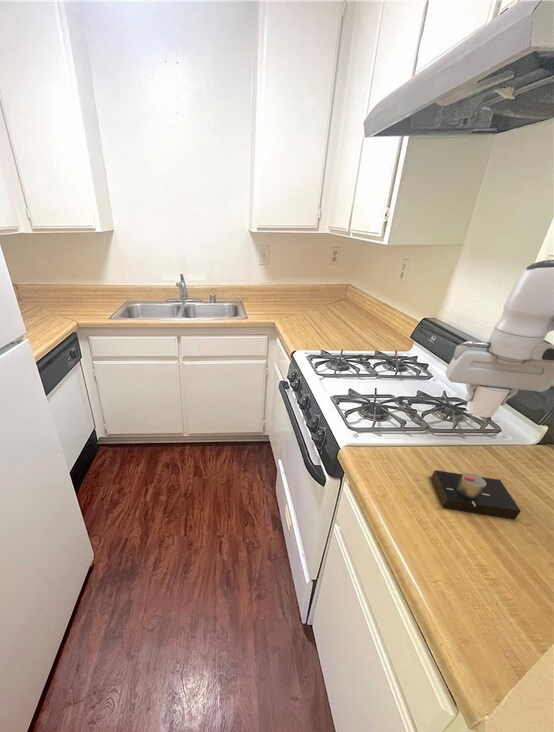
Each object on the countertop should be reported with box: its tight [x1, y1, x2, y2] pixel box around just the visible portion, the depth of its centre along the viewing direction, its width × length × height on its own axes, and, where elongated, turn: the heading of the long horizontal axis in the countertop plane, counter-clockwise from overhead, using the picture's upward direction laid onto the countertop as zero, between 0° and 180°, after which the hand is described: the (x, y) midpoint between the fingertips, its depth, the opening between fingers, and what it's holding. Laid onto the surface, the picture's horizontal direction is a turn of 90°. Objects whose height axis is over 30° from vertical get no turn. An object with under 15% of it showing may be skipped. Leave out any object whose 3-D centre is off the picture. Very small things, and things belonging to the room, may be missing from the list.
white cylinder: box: [465, 385, 510, 418], centre depth 80 cm, size 7×7×7 cm
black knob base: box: [430, 469, 522, 521], centre depth 76 cm, size 14×11×3 cm
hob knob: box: [456, 472, 486, 499], centre depth 74 cm, size 4×4×4 cm
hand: (484, 402), depth 81 cm, fingers closed on white cylinder, 5 cm apart
